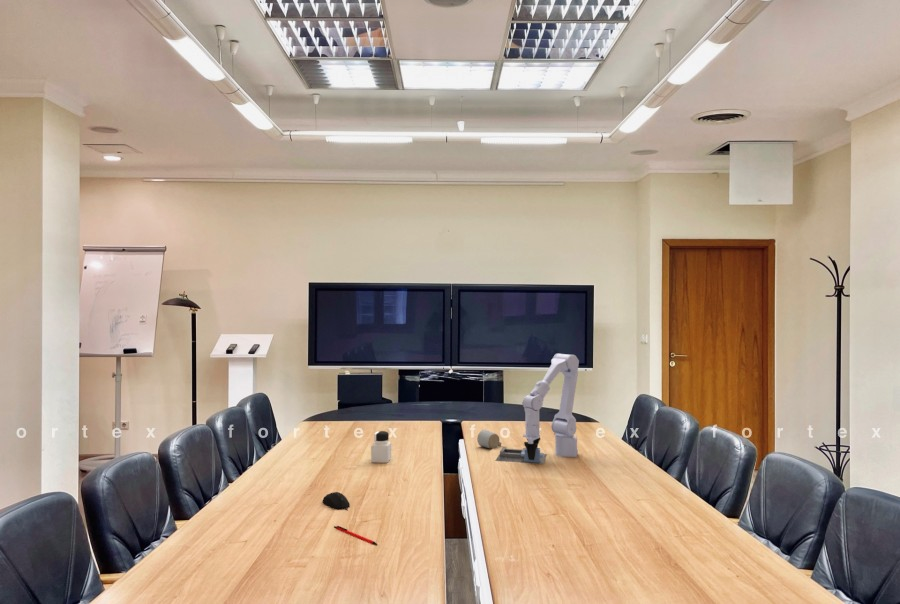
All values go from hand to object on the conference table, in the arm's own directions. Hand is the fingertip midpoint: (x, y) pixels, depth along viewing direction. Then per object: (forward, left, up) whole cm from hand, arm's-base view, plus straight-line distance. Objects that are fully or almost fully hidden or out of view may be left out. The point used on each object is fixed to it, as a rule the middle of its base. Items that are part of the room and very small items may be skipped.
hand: (532, 457), depth 234 cm
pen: (+40, +88, -3) cm, 97 cm away
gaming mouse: (+55, +67, -3) cm, 87 cm away
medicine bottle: (+62, +12, -2) cm, 63 cm away
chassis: (+5, -5, -2) cm, 7 cm away
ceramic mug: (+22, -22, -2) cm, 31 cm away
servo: (0, 0, -1) cm, 1 cm away
